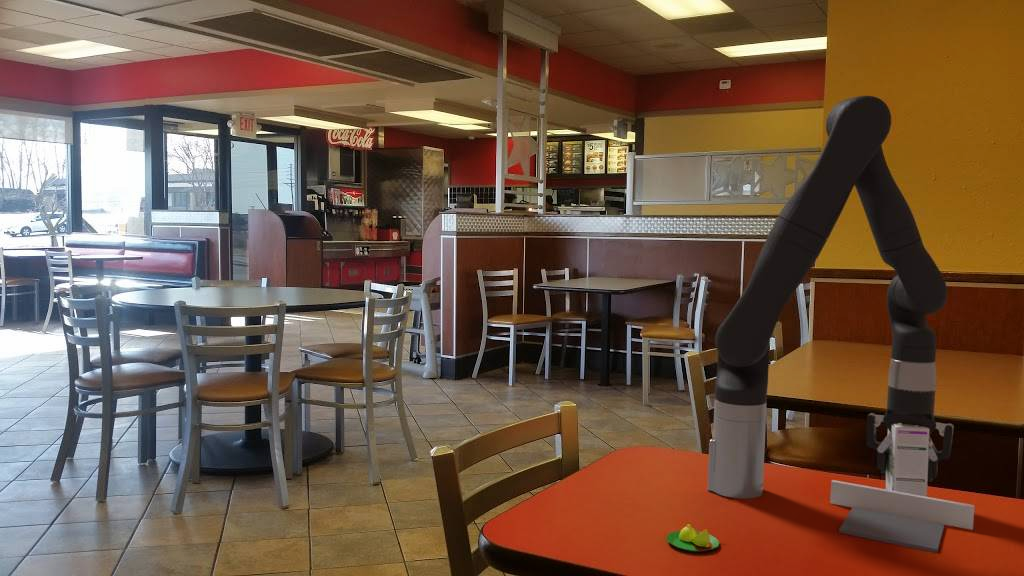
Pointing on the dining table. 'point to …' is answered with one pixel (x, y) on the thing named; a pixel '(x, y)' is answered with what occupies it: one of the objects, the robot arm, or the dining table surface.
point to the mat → (893, 529)
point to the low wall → (902, 504)
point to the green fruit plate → (691, 539)
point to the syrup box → (908, 459)
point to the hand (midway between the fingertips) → (906, 476)
